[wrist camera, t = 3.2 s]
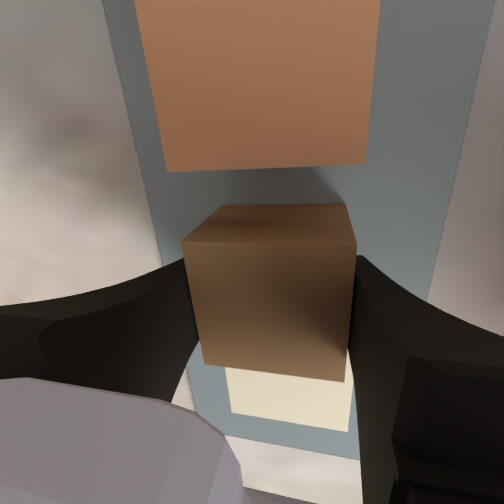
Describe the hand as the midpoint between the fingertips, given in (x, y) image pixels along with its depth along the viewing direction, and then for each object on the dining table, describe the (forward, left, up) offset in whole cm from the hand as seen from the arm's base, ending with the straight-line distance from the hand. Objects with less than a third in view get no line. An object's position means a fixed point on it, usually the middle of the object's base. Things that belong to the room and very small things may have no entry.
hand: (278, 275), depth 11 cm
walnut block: (0, 0, -1) cm, 1 cm away
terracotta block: (+5, -5, -1) cm, 7 cm away
